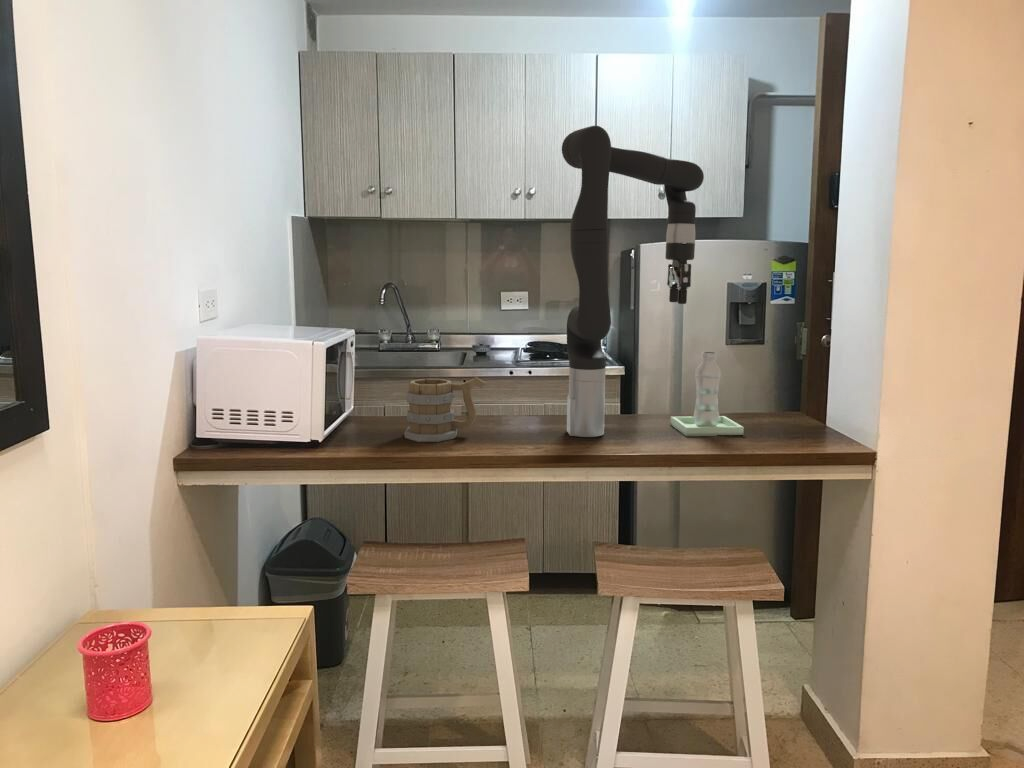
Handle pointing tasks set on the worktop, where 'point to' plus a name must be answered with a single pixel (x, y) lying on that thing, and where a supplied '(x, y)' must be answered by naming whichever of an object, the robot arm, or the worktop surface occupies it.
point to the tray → (690, 429)
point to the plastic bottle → (707, 391)
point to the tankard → (437, 409)
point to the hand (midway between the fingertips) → (677, 303)
